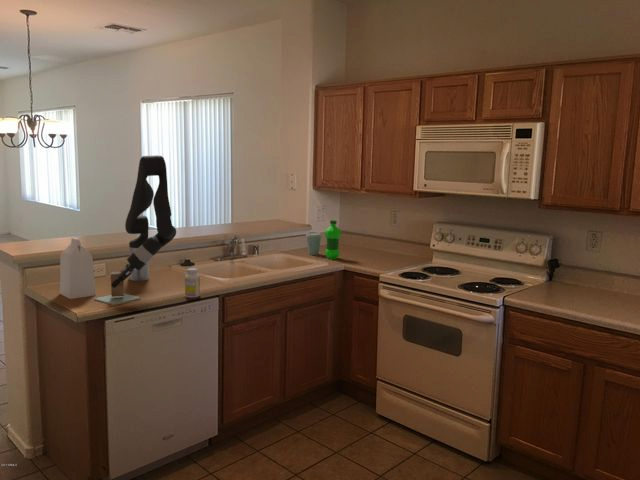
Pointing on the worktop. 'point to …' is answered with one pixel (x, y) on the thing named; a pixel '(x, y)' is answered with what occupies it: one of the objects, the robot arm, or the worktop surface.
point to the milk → (76, 271)
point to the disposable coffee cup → (313, 242)
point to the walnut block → (120, 287)
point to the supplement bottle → (192, 283)
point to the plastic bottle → (332, 240)
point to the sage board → (117, 299)
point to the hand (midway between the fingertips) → (112, 284)
